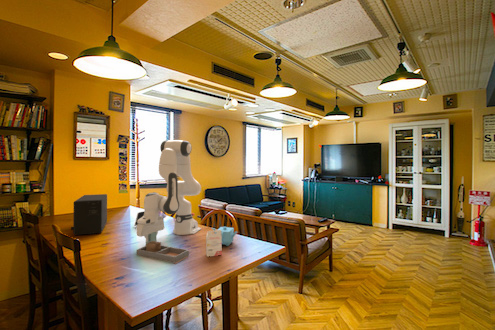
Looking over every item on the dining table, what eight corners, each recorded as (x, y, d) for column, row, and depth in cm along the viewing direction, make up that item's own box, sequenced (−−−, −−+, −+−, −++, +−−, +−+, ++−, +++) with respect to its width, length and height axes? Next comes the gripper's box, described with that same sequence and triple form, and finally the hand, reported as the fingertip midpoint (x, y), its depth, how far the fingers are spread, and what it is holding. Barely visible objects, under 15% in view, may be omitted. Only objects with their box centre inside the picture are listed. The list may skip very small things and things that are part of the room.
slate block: (151, 243, 165) (151, 230, 164) (156, 244, 163) (156, 231, 163) (145, 245, 160) (145, 232, 160) (151, 246, 159) (151, 233, 158)
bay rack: (152, 249, 155) (152, 243, 154) (188, 256, 144) (188, 250, 144) (136, 255, 143) (136, 249, 143) (175, 263, 133) (175, 257, 133)
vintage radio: (80, 224, 211) (80, 194, 211) (107, 222, 219) (107, 193, 219) (69, 237, 177) (69, 201, 176) (101, 234, 184) (101, 200, 184)
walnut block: (152, 251, 150) (152, 241, 150) (160, 252, 147) (160, 242, 147) (146, 253, 145) (146, 243, 145) (154, 255, 143) (154, 245, 143)
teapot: (234, 248, 157) (234, 230, 157) (206, 246, 161) (206, 228, 161) (239, 241, 173) (240, 224, 173) (214, 239, 176) (215, 223, 176)
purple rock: (171, 220, 210) (165, 201, 215) (149, 224, 192) (142, 203, 197) (157, 230, 219) (151, 211, 224) (135, 234, 201) (129, 214, 206)
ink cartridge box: (220, 252, 150) (220, 227, 150) (221, 255, 146) (222, 230, 145) (205, 253, 148) (206, 228, 148) (206, 256, 143) (207, 231, 143)
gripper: (159, 214, 172) (159, 234, 172) (134, 221, 153) (134, 243, 154) (166, 215, 170) (166, 236, 170) (142, 222, 151) (142, 245, 151)
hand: (151, 239), depth 162 cm, fingers closed on slate block, 4 cm apart
